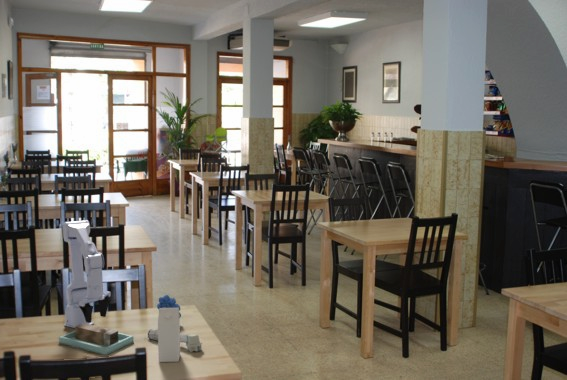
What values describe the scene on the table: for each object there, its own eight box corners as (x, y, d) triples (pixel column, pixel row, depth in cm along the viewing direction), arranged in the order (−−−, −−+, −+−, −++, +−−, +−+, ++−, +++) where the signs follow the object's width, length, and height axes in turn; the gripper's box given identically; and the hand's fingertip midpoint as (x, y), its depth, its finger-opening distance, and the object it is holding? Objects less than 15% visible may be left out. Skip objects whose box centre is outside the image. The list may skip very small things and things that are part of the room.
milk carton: (160, 354, 235) (159, 305, 232) (180, 354, 235) (179, 304, 233) (158, 362, 228) (157, 311, 225) (178, 362, 228) (177, 311, 226)
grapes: (151, 323, 267) (151, 296, 266) (161, 318, 274) (160, 291, 272) (174, 327, 263) (174, 299, 261) (183, 322, 269) (183, 295, 267)
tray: (59, 343, 245) (59, 337, 245) (88, 331, 258) (88, 325, 258) (105, 355, 234) (105, 348, 233) (133, 342, 247) (133, 336, 246)
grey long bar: (155, 326, 253) (203, 330, 240) (157, 343, 254) (205, 348, 240) (145, 330, 249) (194, 335, 235) (147, 347, 249) (196, 352, 236)
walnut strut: (75, 338, 248) (74, 326, 247) (84, 335, 252) (83, 322, 251) (109, 347, 239) (109, 334, 239) (118, 343, 243) (118, 330, 243)
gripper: (88, 291, 235) (89, 326, 236) (116, 282, 247) (117, 315, 249) (74, 288, 238) (75, 323, 240) (102, 279, 251) (103, 312, 252)
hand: (95, 319), depth 245 cm, fingers open, 7 cm apart
